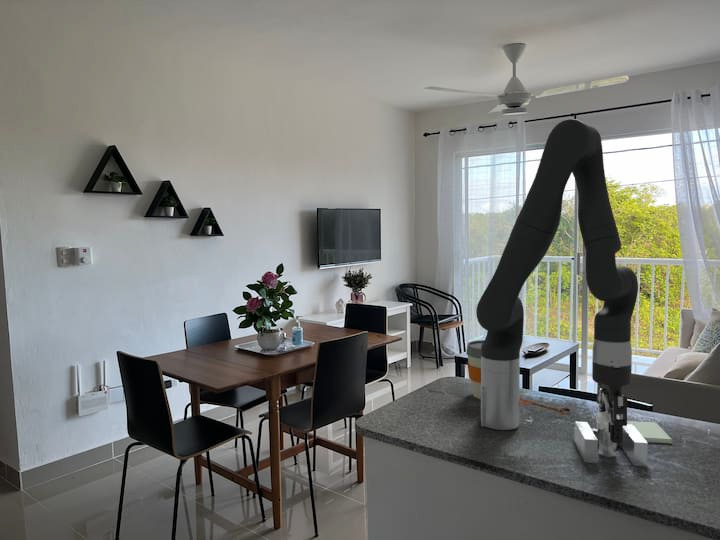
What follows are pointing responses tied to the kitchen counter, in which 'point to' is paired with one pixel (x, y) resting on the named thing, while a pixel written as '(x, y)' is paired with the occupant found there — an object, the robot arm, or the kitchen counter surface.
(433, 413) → the kitchen counter surface
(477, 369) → the reusable coffee cup
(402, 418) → the kitchen counter surface
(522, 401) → the key
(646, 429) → the mat
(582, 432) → the grey u-shaped bracket
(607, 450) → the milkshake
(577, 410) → the kitchen counter surface
